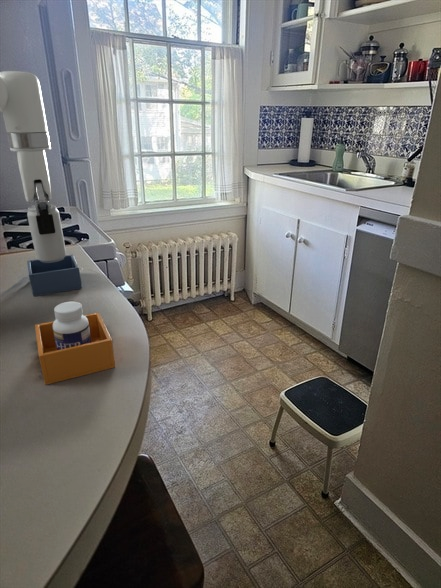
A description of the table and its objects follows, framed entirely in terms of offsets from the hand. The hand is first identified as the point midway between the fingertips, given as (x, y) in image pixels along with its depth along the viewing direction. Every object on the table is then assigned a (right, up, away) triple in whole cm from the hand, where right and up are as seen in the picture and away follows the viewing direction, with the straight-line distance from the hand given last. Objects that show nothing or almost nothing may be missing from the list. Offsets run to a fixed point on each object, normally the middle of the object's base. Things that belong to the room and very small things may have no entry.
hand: (46, 228), depth 86 cm
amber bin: (+15, -25, -22) cm, 37 cm away
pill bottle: (+15, -25, -22) cm, 37 cm away
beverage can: (0, -7, +3) cm, 7 cm away
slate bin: (0, -12, +5) cm, 13 cm away
